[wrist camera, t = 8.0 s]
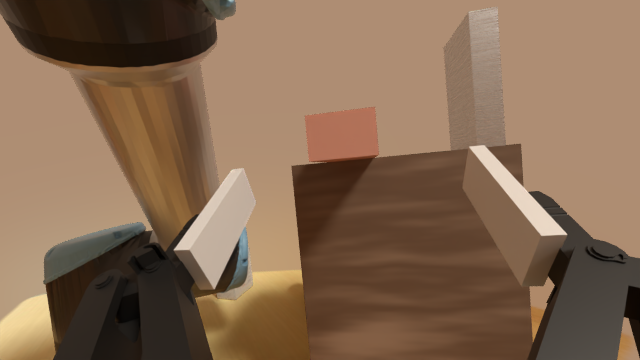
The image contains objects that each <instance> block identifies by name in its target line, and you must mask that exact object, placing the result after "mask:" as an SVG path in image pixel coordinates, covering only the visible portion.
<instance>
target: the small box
mask: <svg viewBox="0 0 640 360" xmlns="http://www.w3.org/2000/svg"><path fill="white" fill-rule="evenodd" d="M252 286H253V278H252V269H251V260H250V251H249V248H248V274H247V278H246V281H245V283H244V284H243V285H242V286H241V287H239V288H235V289H232V290H229V291H227V292H225V293H217V298H218V299H230V300H236V299H237V298H238V297H240V296H241V295H242V294H243V293H244V292H246V291H247V290H248V289H249V288H250V287H252Z"/></svg>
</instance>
